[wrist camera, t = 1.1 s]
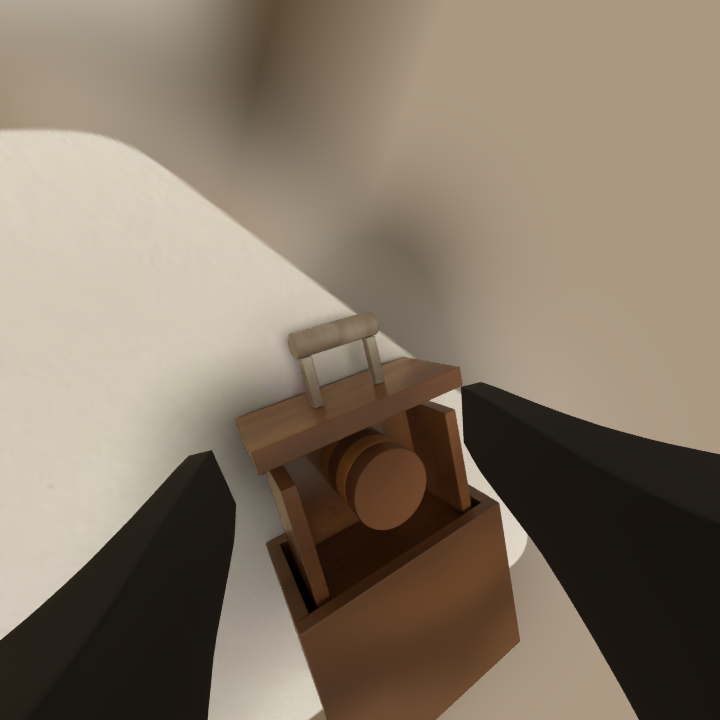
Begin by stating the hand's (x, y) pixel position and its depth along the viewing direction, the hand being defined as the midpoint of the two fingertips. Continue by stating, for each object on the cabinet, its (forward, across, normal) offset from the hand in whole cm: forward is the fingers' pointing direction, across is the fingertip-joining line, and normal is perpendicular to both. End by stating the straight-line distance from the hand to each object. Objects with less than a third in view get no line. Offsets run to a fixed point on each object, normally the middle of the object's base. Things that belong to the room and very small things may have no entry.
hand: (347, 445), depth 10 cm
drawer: (+12, 0, +7) cm, 14 cm away
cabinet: (+10, 0, +19) cm, 22 cm away
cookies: (+10, 0, +9) cm, 14 cm away
